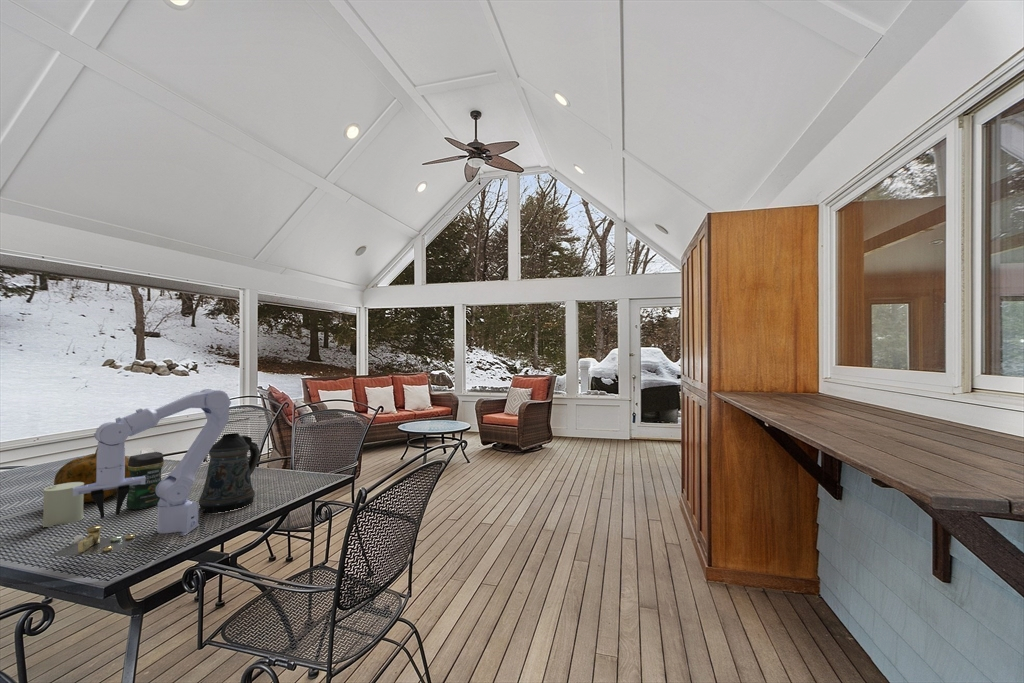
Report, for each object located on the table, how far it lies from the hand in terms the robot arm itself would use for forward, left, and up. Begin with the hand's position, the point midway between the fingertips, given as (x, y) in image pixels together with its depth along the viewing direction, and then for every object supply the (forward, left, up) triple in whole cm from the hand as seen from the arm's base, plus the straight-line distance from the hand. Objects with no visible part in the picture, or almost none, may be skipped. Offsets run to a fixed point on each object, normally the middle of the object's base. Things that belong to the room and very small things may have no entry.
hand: (110, 515), depth 117 cm
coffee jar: (+14, -36, -10) cm, 40 cm away
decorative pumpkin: (+38, -47, -10) cm, 61 cm away
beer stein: (-15, -33, -10) cm, 38 cm away
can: (+30, -24, -10) cm, 40 cm away
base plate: (+3, -1, -9) cm, 10 cm away
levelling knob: (+5, 0, -8) cm, 9 cm away
